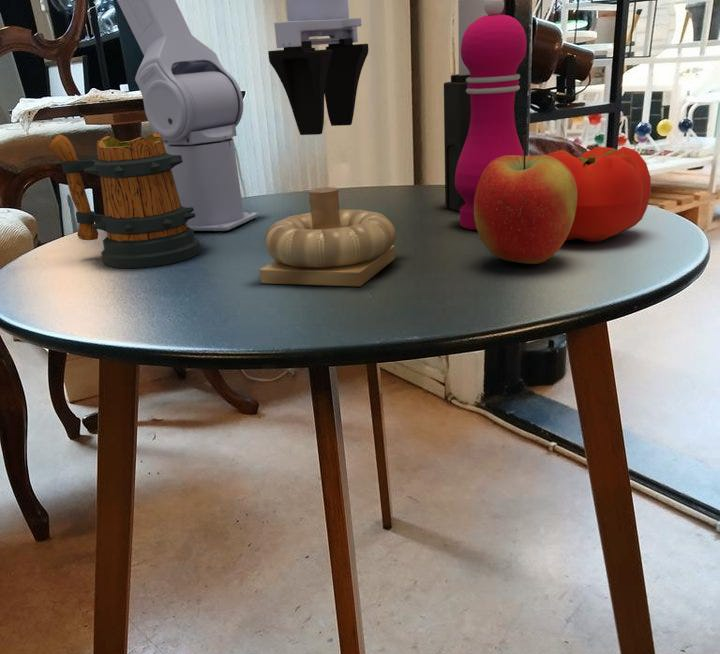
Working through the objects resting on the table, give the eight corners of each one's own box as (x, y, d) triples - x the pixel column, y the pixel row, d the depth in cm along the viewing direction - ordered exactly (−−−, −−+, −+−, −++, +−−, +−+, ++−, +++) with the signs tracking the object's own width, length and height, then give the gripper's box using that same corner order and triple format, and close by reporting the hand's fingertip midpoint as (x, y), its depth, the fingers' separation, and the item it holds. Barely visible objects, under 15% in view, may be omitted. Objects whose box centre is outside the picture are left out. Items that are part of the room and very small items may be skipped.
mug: (215, 241, 80) (196, 120, 75) (185, 266, 72) (161, 131, 66) (98, 247, 82) (70, 129, 76) (54, 272, 73) (20, 141, 68)
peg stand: (260, 283, 65) (249, 200, 61) (304, 256, 72) (296, 181, 69) (360, 287, 62) (354, 199, 58) (395, 258, 69) (392, 179, 66)
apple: (585, 254, 66) (595, 126, 61) (555, 279, 60) (562, 139, 55) (496, 249, 70) (498, 128, 65) (459, 271, 64) (459, 140, 59)
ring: (245, 270, 64) (240, 233, 63) (300, 239, 73) (297, 206, 72) (369, 273, 60) (366, 234, 59) (411, 241, 69) (410, 206, 68)
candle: (441, 207, 88) (437, -56, 76) (479, 200, 90) (481, -58, 78) (464, 213, 84) (464, -64, 72) (504, 206, 86) (510, -65, 74)
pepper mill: (540, 225, 77) (551, -12, 67) (476, 235, 75) (478, -8, 65) (503, 214, 83) (508, -5, 73) (442, 223, 81) (439, -1, 71)
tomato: (530, 252, 67) (534, 161, 64) (524, 226, 77) (527, 145, 73) (657, 248, 66) (668, 154, 62) (635, 221, 75) (644, 138, 72)
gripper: (322, -46, 62) (336, 137, 69) (383, -36, 73) (389, 120, 80) (245, -37, 64) (265, 139, 71) (315, -29, 76) (327, 122, 83)
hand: (326, 129), depth 76 cm, fingers open, 7 cm apart
